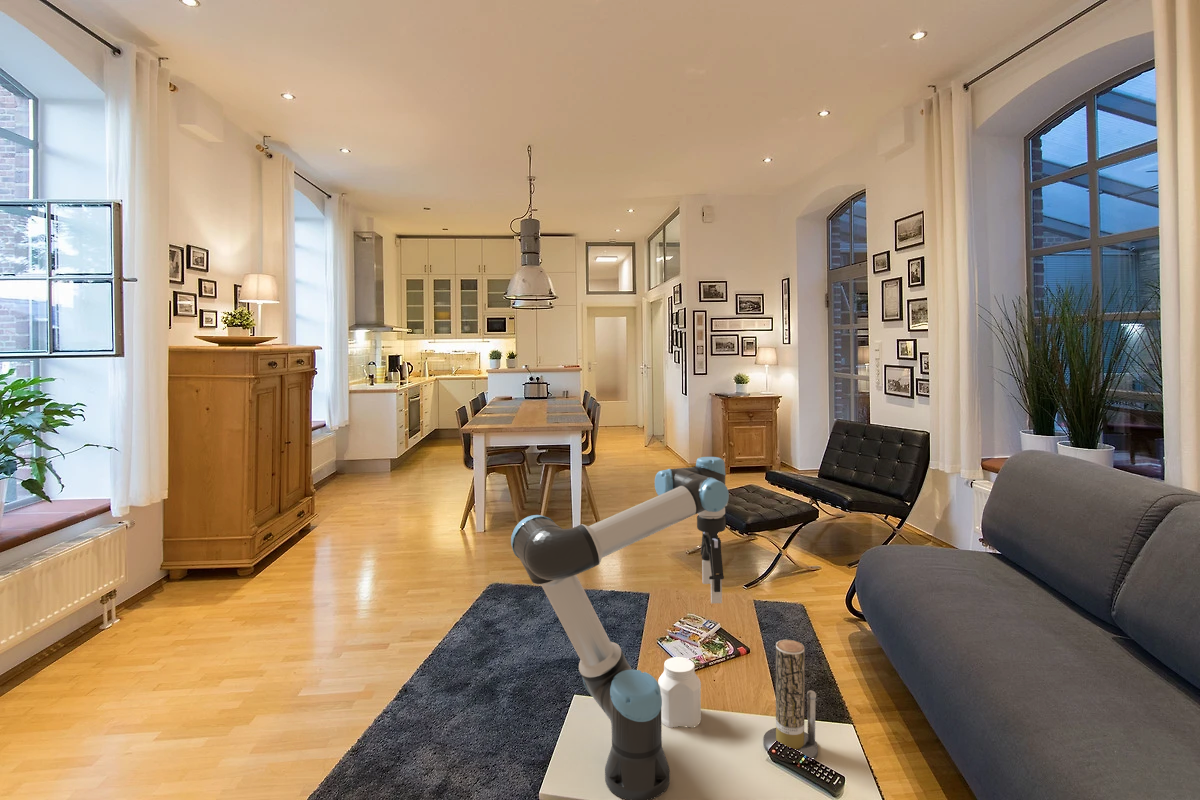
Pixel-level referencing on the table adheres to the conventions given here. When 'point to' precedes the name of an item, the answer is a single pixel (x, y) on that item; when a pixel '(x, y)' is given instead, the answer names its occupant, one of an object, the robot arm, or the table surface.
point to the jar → (680, 693)
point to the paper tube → (790, 693)
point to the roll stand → (809, 739)
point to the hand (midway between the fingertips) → (711, 592)
